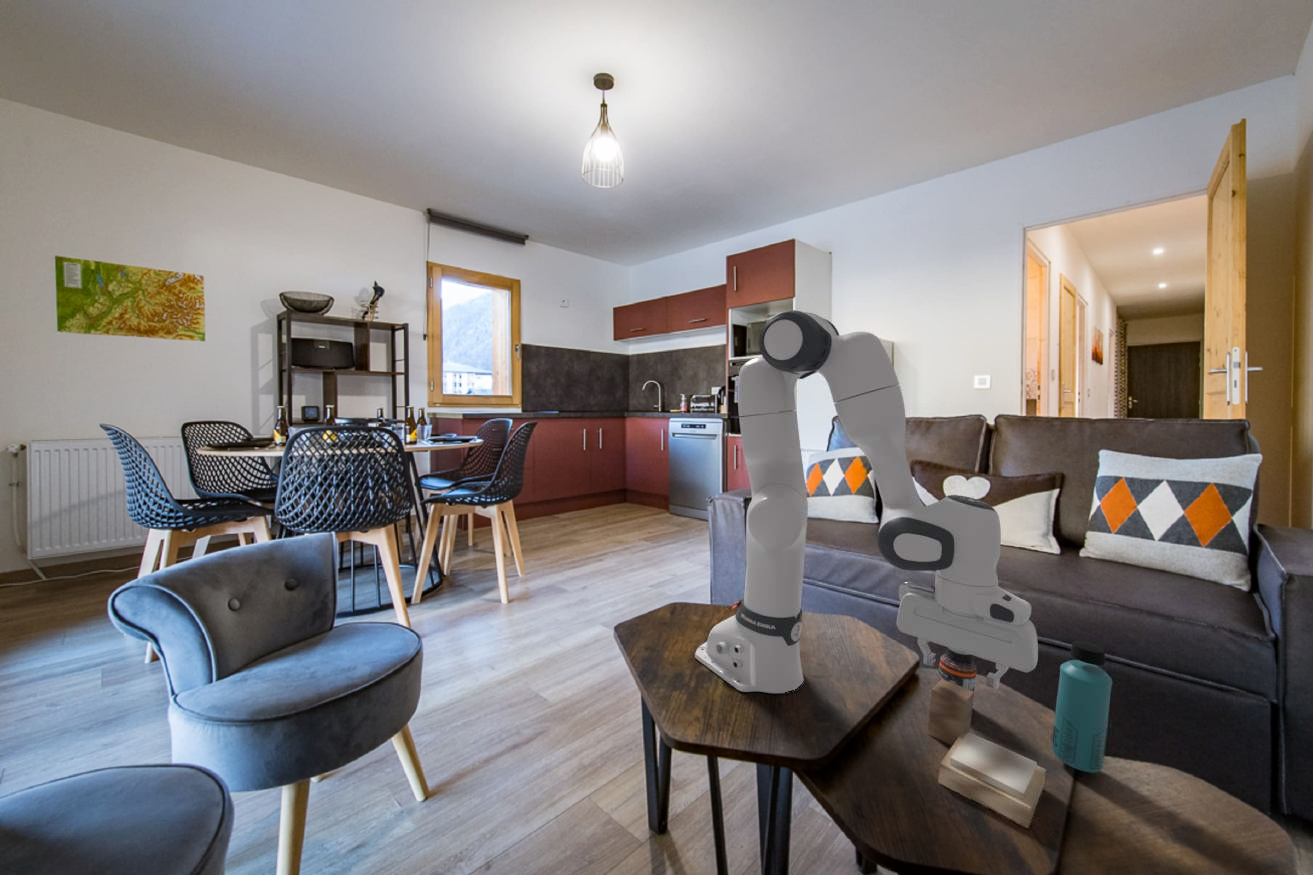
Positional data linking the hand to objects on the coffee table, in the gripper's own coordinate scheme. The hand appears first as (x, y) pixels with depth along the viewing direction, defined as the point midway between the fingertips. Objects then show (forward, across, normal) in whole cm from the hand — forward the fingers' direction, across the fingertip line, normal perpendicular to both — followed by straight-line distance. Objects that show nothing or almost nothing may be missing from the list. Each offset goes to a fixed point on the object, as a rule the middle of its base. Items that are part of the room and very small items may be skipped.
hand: (959, 674), depth 86 cm
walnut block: (+11, -1, 0) cm, 11 cm away
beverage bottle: (+12, +15, +7) cm, 20 cm away
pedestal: (+11, +7, -8) cm, 16 cm away
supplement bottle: (+11, -3, +10) cm, 15 cm away
